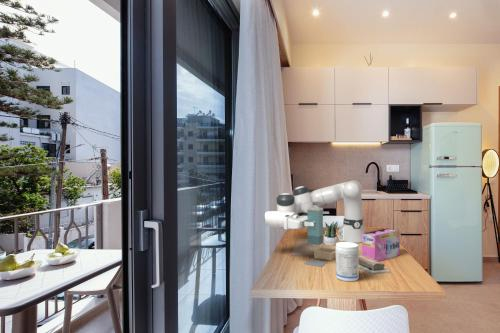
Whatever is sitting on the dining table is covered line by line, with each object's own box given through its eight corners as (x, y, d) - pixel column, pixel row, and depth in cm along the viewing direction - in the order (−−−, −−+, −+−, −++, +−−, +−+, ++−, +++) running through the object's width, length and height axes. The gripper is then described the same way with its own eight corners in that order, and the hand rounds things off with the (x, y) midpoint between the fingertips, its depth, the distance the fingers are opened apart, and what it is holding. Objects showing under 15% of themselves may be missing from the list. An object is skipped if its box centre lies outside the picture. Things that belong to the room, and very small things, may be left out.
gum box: (388, 252, 181) (388, 227, 181) (401, 255, 174) (401, 230, 174) (361, 259, 167) (361, 233, 167) (375, 262, 161) (374, 235, 161)
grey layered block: (348, 254, 160) (365, 252, 163) (348, 264, 160) (365, 262, 163) (371, 264, 143) (390, 262, 146) (371, 275, 143) (390, 273, 146)
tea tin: (307, 243, 159) (307, 208, 159) (311, 241, 163) (311, 207, 163) (319, 245, 155) (318, 209, 155) (323, 243, 159) (323, 207, 159)
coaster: (303, 265, 158) (303, 263, 158) (311, 260, 165) (311, 259, 165) (321, 268, 153) (321, 266, 153) (328, 263, 160) (328, 261, 160)
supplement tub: (337, 273, 145) (337, 240, 145) (359, 276, 141) (359, 242, 141) (334, 280, 136) (334, 245, 136) (357, 283, 132) (357, 247, 132)
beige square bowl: (307, 259, 168) (306, 249, 168) (318, 252, 180) (318, 243, 180) (334, 263, 159) (334, 253, 159) (344, 256, 172) (344, 246, 172)
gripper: (300, 223, 175) (325, 226, 167) (282, 230, 158) (308, 233, 150) (300, 212, 175) (324, 214, 167) (282, 217, 158) (308, 219, 150)
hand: (316, 223), depth 158 cm, fingers closed on tea tin, 5 cm apart
